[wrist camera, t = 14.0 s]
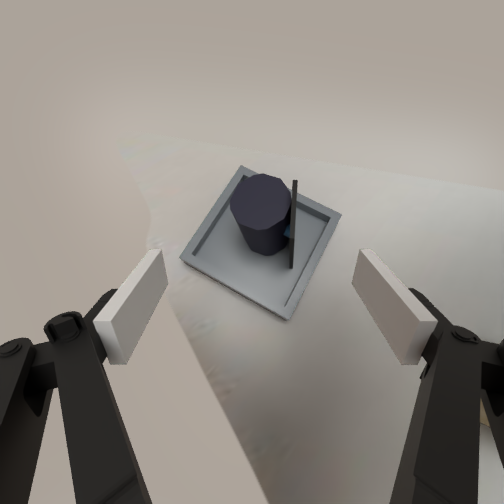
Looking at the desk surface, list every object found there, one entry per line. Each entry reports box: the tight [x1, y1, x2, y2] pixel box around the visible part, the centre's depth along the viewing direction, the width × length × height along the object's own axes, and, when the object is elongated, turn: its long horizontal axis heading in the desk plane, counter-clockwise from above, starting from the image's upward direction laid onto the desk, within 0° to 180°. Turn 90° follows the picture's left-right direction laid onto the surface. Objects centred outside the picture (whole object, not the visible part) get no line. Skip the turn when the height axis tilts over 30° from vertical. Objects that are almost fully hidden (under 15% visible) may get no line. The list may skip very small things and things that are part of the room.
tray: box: [179, 165, 342, 321], centre depth 30 cm, size 14×14×2 cm
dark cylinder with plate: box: [230, 174, 298, 269], centre depth 26 cm, size 8×6×10 cm
